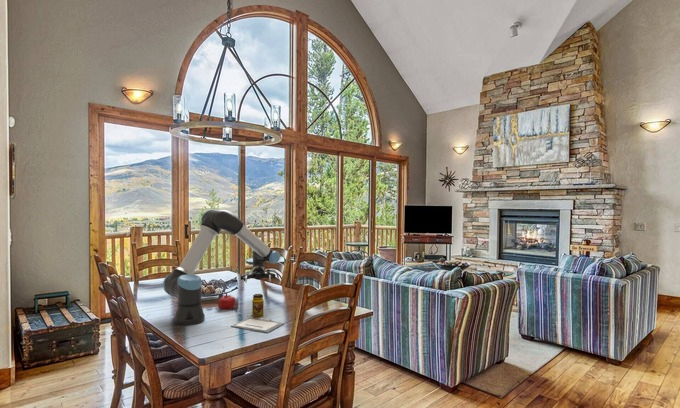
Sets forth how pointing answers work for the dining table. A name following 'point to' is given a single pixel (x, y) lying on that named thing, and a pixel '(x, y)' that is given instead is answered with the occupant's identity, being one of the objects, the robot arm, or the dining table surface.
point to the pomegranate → (226, 302)
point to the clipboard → (258, 325)
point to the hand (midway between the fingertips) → (258, 279)
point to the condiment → (257, 306)
